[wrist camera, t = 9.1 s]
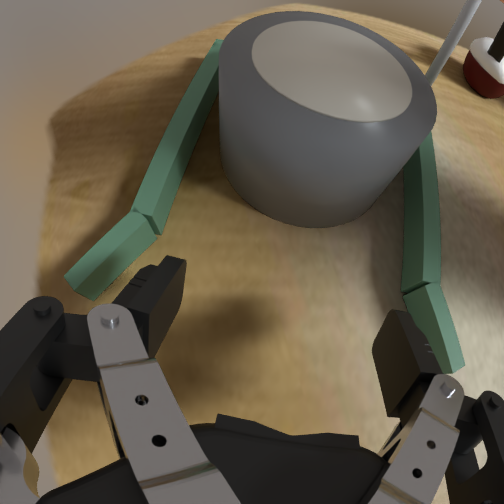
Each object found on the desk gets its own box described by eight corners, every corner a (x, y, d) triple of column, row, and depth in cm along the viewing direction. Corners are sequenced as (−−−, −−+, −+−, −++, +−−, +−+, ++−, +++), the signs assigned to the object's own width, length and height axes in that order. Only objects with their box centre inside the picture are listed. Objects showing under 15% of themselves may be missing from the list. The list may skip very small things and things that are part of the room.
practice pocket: (446, 375, 16) (695, 326, 1) (80, 296, 16) (-163, 112, 1) (441, 126, 22) (535, -12, 7) (189, 59, 23) (180, -119, 8)
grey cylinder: (335, 86, 23) (362, 10, 16) (410, 201, 20) (474, 134, 12) (199, 111, 21) (193, 20, 14) (256, 253, 18) (275, 177, 10)
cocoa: (480, 74, 28) (522, 10, 17) (509, 110, 26) (559, 46, 15) (434, 62, 26) (478, -18, 15) (467, 102, 24) (524, 19, 13)
